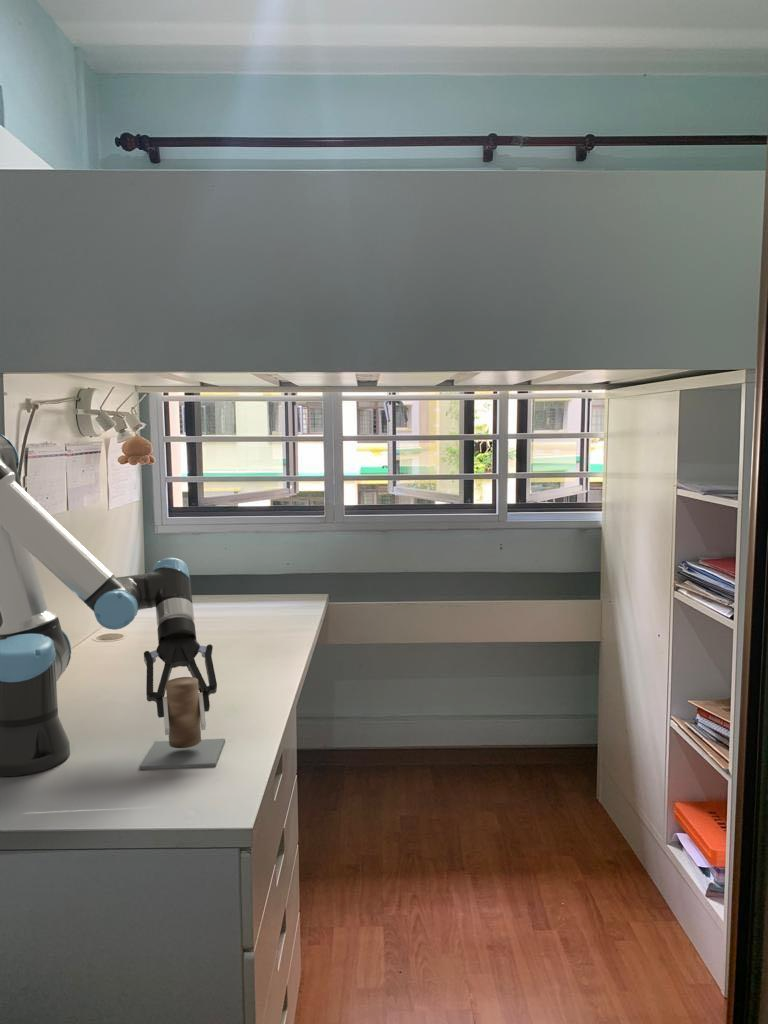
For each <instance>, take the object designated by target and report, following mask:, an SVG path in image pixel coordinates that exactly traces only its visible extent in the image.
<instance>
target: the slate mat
mask: <svg viewBox="0 0 768 1024" xmlns="http://www.w3.org/2000/svg"><path fill="white" fill-rule="evenodd" d="M225 743H226V738H210V739H207V738H206V739H201V742H200V743H199V744H197V745H195V746H192V747H188V748H173V747H171V746H170V745H169V740H157V741H156V740H155V741H154V742H153V744H152V745H151V747H150V749H149V750H148V752H147V754H146V755H145V757H144V758H143V760H142V761H141V762H140V765H139V770H159V769H182V768H183V769H185V768H186V769H187V768H207V767H208V768H209V767H217V764H218V763H219V762H218V761H219V759H220V756H221V754H222V750H223V748H224V746H225Z"/></svg>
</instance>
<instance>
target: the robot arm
mask: <svg viewBox="0 0 768 1024" xmlns="http://www.w3.org/2000/svg"><path fill="white" fill-rule="evenodd" d="M19 457H20V456H19V454H18V451H17V448H16V446H15V444H14V443H13V442H12V441H11V440H10V439H8V437H6V436H5V435H4V434H1V433H0V615H1V618H2V625H1V626H0V777H19V776H26V775H30V774H36V773H40V772H43V771H46V770H49V769H51V768H54V767H57V766H58V765H60V764H62V763H63V762H65V761H66V760H67V759H68V758H69V757H70V755H71V749H70V748H71V746H70V745H71V744H70V743H71V742H70V740H69V738H68V736H67V733H66V731H65V729H64V727H63V724H62V722H61V719H60V717H59V708H58V707H59V706H58V705H59V703H58V688H57V686H58V685H57V683H58V681H59V679H60V677H61V676H62V675H63V674H64V672H65V671H66V669H68V666H69V663H70V661H71V657H72V644H71V641H70V639H69V637H68V635H67V633H66V632H65V631H64V630H63V629H62V627H61V623H60V619H59V616H58V614H57V613H55V612H54V611H51V610H49V609H48V605H47V602H46V599H45V596H44V592H43V588H42V584H41V581H40V577H39V573H38V570H37V566H36V564H35V559H34V557H35V558H36V560H37V561H38V562H40V563H41V564H42V565H43V566H44V567H45V568H46V569H47V570H48V571H50V572H51V573H52V574H53V575H54V577H56V578H57V579H58V580H60V582H62V584H64V586H66V588H68V589H69V590H70V591H71V592H72V593H73V594H75V595H76V596H77V597H78V598H79V600H81V601H82V602H83V603H84V604H85V605H86V606H87V607H88V608H89V609H90V610H91V611H92V612H93V613H94V617H95V619H96V621H97V622H98V624H99V625H100V626H102V627H103V628H105V629H107V630H114V631H115V630H117V631H118V630H121V629H124V628H125V627H127V626H129V625H130V623H132V622H133V621H134V620H135V617H137V614H138V611H141V610H146V609H153V608H155V614H156V615H155V616H156V617H155V618H156V625H157V629H156V630H157V641H158V645H157V647H156V649H155V650H153V651H149V650H145V651H144V652H143V661H144V664H145V666H146V694H145V695H146V700H147V702H149V703H150V702H155V703H156V711H157V713H156V714H157V717H158V718H159V719H160V718H163V720H164V721H163V723H164V735H165V736H169V717H168V704H167V696H165V695H166V682H167V681H169V680H170V676H171V673H172V670H173V669H174V668H178V667H182V668H184V667H186V668H187V670H188V672H189V673H190V675H191V677H193V678H197V679H198V688H199V710H200V729H201V731H205V730H206V724H207V721H206V712H209V711H210V709H211V708H210V705H211V704H210V695H211V694H213V695H214V694H216V693H217V692H218V691H217V689H218V683H217V679H216V672H215V667H214V663H213V658H212V656H213V647H214V646H213V645H212V644H207V645H206V646H205V645H200V643H199V642H198V640H197V632H196V624H195V615H194V605H193V596H192V595H193V594H192V585H191V583H192V582H191V578H190V573H189V572H190V571H189V567H188V565H187V564H186V562H185V561H183V560H182V559H180V558H177V557H166V558H163V559H162V560H158V561H157V562H156V563H155V564H154V566H153V567H152V571H151V572H147V573H141V574H133V575H132V574H131V575H127V576H126V575H125V576H119V577H118V576H115V575H114V573H112V572H111V570H110V569H108V568H107V566H105V565H104V564H103V563H102V562H101V561H100V560H99V559H98V558H97V557H96V556H95V555H93V553H91V551H89V550H88V549H87V548H86V547H85V546H84V545H83V544H82V543H81V542H80V541H79V540H78V539H77V538H76V537H74V536H73V534H71V533H70V531H68V530H67V529H66V528H65V527H64V525H62V524H61V523H60V522H59V521H58V520H57V519H56V518H54V517H53V516H52V515H51V514H50V513H49V512H48V511H47V510H46V509H45V508H44V507H43V506H42V504H40V503H39V502H38V501H37V500H36V499H35V498H34V497H33V496H32V495H30V494H29V493H28V492H27V491H26V490H25V489H24V488H23V487H22V482H21V479H20V475H19V466H20V459H19ZM199 653H200V654H201V657H202V658H203V659H204V666H205V671H206V676H207V680H208V681H207V682H208V685H207V684H206V681H205V679H204V677H203V675H202V673H201V671H200V669H199V666H198V665H197V662H196V660H195V658H196V657H197V655H198V654H199ZM157 658H159V659H160V660H161V661H162V662H163V663H164V666H163V669H162V673H161V676H160V681H159V684H158V688H157V691H154V664H155V663H156V661H157Z"/></svg>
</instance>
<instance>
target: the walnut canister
mask: <svg viewBox="0 0 768 1024" xmlns="http://www.w3.org/2000/svg"><path fill="white" fill-rule="evenodd" d="M199 693H200V692H199V688H198V679H197V678H193V677H192V676H191V677H190V676H182V677H175V678H172V679H169V680H168V681H167V682H166V691H165V695H166V697H167V704H168V717H169V735H168V741H169V745H170V746H171V747H173V748H188V747H192V746H195V745H197V744H199V743H200V742H201V740H202V732H201V731H202V730H201V722H200V710H199Z"/></svg>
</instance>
